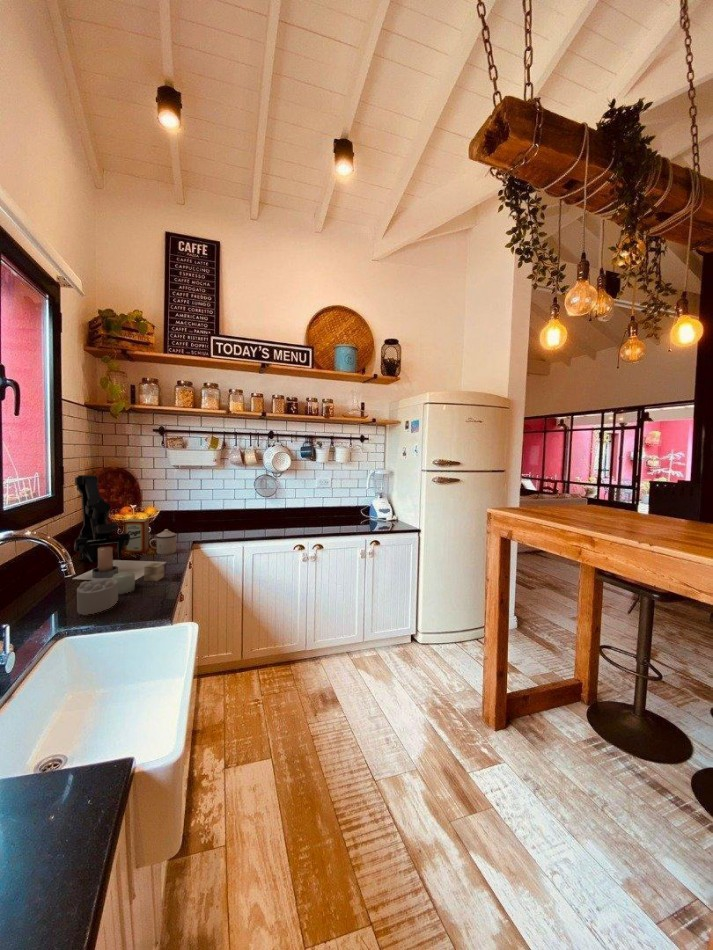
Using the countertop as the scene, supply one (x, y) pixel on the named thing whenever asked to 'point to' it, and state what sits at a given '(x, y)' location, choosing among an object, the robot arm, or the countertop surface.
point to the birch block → (153, 571)
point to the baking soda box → (137, 535)
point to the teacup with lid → (165, 542)
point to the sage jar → (125, 581)
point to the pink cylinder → (105, 559)
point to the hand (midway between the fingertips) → (106, 559)
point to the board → (122, 568)
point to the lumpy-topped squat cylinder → (96, 595)
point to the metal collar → (104, 573)
